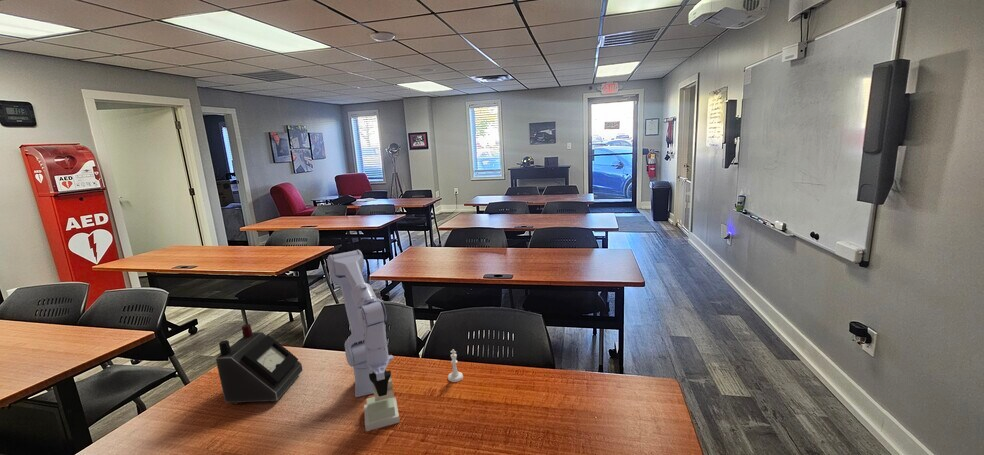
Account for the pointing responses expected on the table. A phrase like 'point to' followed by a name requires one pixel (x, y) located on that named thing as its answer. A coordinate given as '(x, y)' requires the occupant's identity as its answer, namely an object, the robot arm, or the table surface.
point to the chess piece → (454, 369)
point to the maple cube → (389, 392)
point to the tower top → (380, 408)
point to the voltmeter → (255, 368)
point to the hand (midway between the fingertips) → (381, 389)
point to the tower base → (383, 421)
